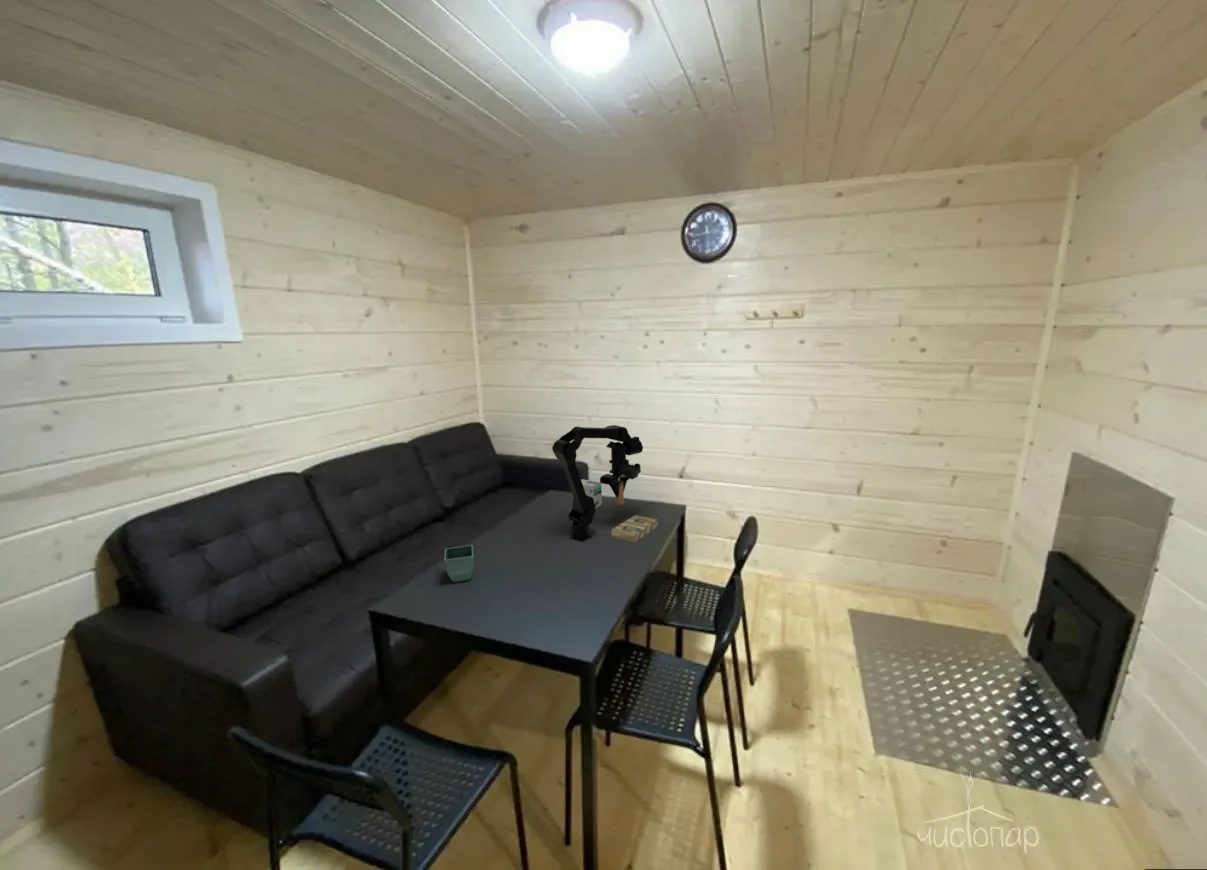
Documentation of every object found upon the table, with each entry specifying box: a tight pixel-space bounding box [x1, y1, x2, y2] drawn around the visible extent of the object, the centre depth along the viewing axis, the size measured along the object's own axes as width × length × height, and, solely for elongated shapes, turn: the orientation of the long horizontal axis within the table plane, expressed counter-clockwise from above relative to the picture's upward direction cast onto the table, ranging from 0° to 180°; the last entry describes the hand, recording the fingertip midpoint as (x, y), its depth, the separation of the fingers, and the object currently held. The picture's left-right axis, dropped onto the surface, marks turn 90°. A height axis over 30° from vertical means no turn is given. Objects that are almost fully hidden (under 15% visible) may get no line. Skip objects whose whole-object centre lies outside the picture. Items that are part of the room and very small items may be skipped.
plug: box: [614, 480, 625, 506], centre depth 202 cm, size 3×3×9 cm
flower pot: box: [443, 544, 474, 583], centre depth 163 cm, size 9×9×9 cm
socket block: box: [611, 514, 659, 544], centre depth 197 cm, size 18×10×3 cm, turn 146°
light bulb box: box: [581, 478, 603, 509], centre depth 226 cm, size 11×7×11 cm, turn 58°
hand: (619, 495), depth 202 cm, fingers closed on plug, 3 cm apart
